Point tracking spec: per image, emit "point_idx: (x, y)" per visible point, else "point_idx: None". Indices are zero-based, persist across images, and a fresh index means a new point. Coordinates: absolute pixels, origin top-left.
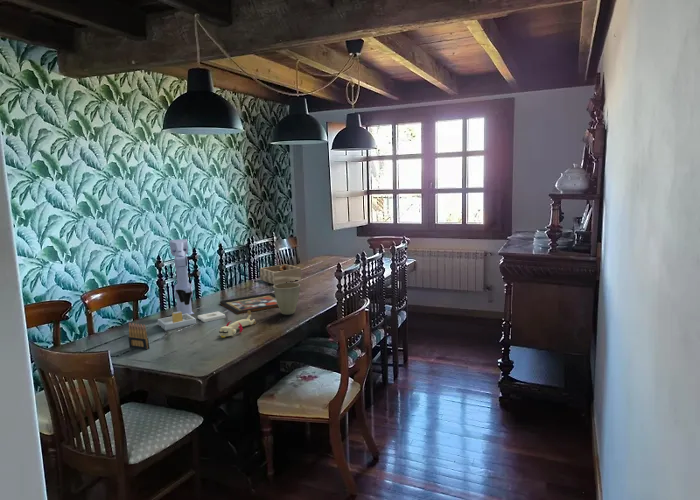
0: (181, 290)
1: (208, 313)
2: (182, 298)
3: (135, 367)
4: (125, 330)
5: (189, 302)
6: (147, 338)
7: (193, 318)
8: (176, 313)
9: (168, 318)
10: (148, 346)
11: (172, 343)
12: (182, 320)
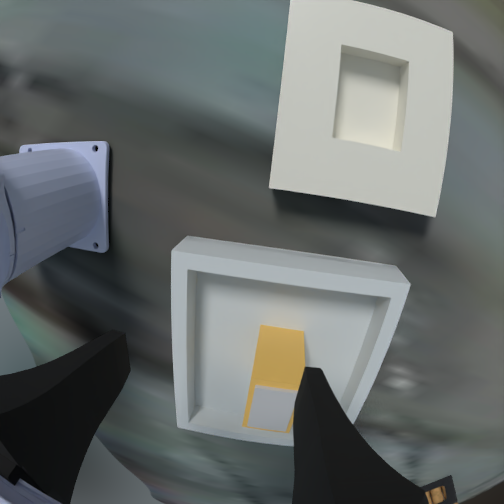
0: (42, 472)
1: (289, 81)
2: (103, 382)
3: (497, 484)
4: (177, 474)
5: (328, 383)
6: (456, 501)
7: (386, 294)
8: (290, 417)
9: (189, 383)
10: (450, 481)
11: (492, 430)
12: (303, 342)
